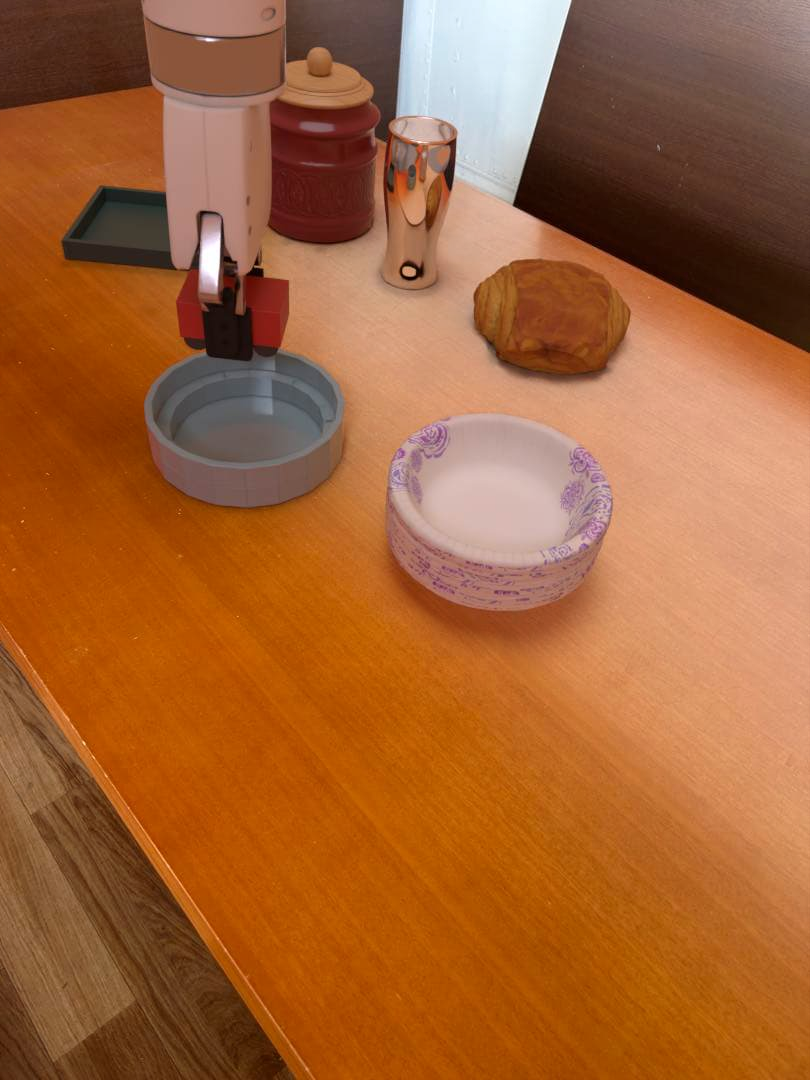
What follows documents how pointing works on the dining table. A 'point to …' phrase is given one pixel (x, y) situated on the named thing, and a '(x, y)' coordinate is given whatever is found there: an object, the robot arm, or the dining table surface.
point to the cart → (261, 297)
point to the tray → (123, 229)
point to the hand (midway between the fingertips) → (236, 334)
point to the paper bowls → (496, 511)
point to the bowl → (245, 427)
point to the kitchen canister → (323, 151)
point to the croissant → (551, 316)
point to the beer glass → (416, 197)
